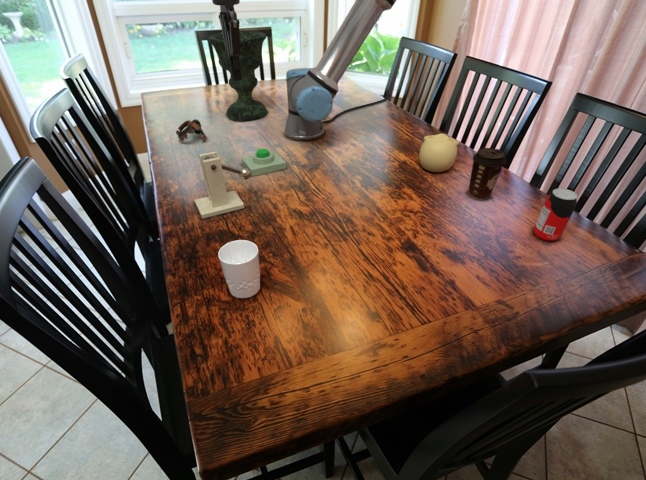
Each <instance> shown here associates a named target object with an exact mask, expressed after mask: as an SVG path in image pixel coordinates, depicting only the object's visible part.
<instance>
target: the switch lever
mask: <svg viewBox="0 0 646 480" xmlns="http://www.w3.org/2000/svg"><path fill="white" fill-rule="evenodd" d="M208 159H213V158H212V157H209V156H206V158H205V160H208ZM221 165H222V170H224V171H227V172H230V173H234V174H237V175H238V176H239V178H241V180H248V179H250V178H251V177H252V176H251V172H250V170H249V169H248V168H245V167H242V168H240V169H238V168H236V167H233V166H229V165H226V164H223V163H221Z"/></svg>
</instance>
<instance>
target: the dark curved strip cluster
mask: <svg viewBox="0 0 646 480" xmlns="http://www.w3.org/2000/svg"><path fill="white" fill-rule="evenodd" d="M175 134H176V135H177V138H178V141H179V140H180V141H183V140H184V139H187V140H188V139H189V137H188V134H189V135H194V134H195V135H201V136H200V139H201V140H202V142H203V143H206V140H207V135H206V134H205V132H204V131H203V129H202V124H201V121H199V120H198V119H196V118H195V119H193V120H191V119H187V120H185V121H183V122H182V123H181V124H180V125H179V126H178V128H177V130H176V131H175Z"/></svg>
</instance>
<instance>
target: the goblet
mask: <svg viewBox="0 0 646 480" xmlns="http://www.w3.org/2000/svg"><path fill="white" fill-rule="evenodd" d="M239 33H240V49H241V56H239V61H240V69H241V76H242V80H239V81H233V80H232V75H231V68H230V61H229V58H228V53H227V52H226V48H225V43H224V38H223V33H222V31H220V32H215V33H212V34H210V35H209V36H207V42H208V43H209V44H211V45H212V47H213V48H214V50H215V53H216V55H217V58H218V65H219V66H220V67H221V68H222V69H223V70H225V71H227V72H228V73H229V75H230V76H229V79H228V85H229V87H230V88H231V89H233V90H234V92H235V93H236V94H237V99H236V101H234V102H232V103H231V104H230V105H229V106H228V108H227V110H226V117H227V118H228V119H230V120H232V121H234V122H249V121H253V120H258V119H261V118H264V116H266V115H267V114H268V109H267V107H266V105H265V104H263V102H261V101H260V100H257V99H254V97H253V91H254V89H255V88H256V87H257V85H258V83H259V82H258V81H259V80H258V78H257V77H256V76H255V71H256V70H257V69H258V68H259V67H260V66H261V65H262V62H263V58H262V50H263V45H264V42H265V40H266V39H267V34H266V33H264V32H262V31H257V30H249V29H247V30H246V29H243V30H239Z"/></svg>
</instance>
